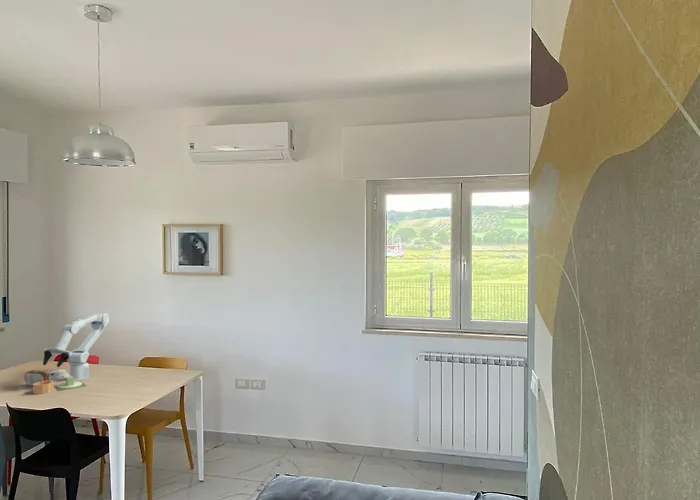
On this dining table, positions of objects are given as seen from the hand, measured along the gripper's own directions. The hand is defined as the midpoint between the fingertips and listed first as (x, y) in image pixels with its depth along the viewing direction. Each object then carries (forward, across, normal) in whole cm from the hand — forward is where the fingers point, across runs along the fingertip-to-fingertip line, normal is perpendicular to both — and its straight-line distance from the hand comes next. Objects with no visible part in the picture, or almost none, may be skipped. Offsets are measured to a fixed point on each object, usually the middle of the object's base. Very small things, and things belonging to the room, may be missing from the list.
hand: (50, 365), depth 265 cm
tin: (+8, -10, +14) cm, 19 cm away
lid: (+6, +10, +9) cm, 15 cm away
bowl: (+14, +2, +2) cm, 14 cm away
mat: (+7, +10, +10) cm, 16 cm away
